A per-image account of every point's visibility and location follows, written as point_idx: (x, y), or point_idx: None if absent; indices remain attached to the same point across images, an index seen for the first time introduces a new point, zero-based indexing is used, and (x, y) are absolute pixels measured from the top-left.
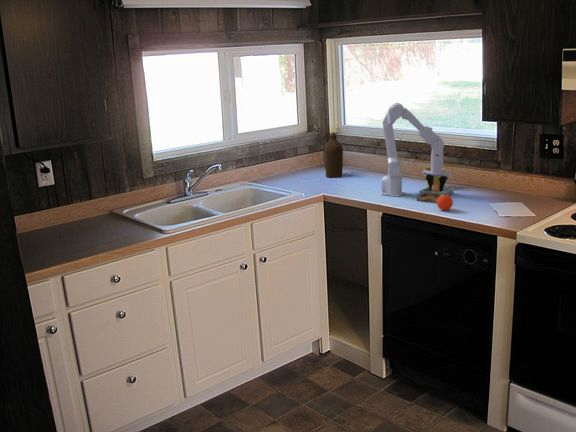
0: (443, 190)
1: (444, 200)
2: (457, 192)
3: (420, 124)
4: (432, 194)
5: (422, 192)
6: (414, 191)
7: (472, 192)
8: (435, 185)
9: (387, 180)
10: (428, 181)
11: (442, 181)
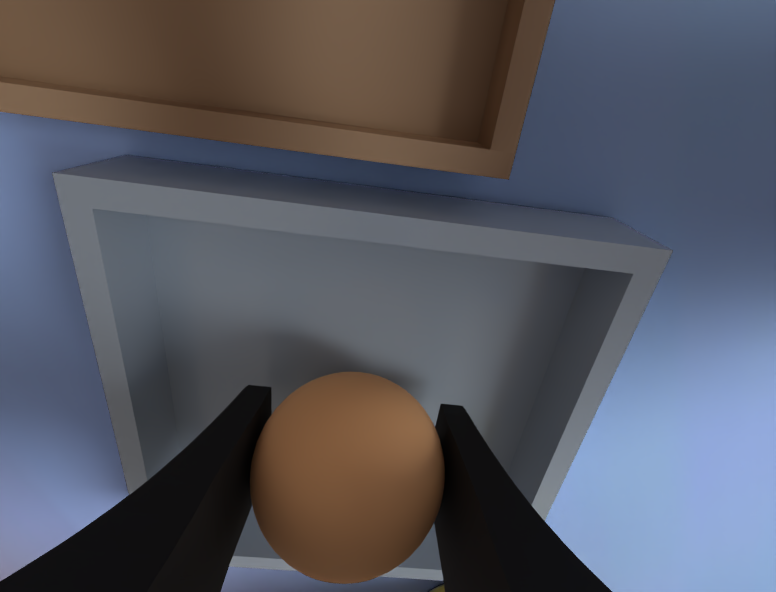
0: None
1: None
2: None
3: None
4: (315, 122)
5: (582, 230)
6: (700, 438)
7: (8, 563)
8: (337, 470)
9: None
10: (554, 570)
11: (22, 582)
